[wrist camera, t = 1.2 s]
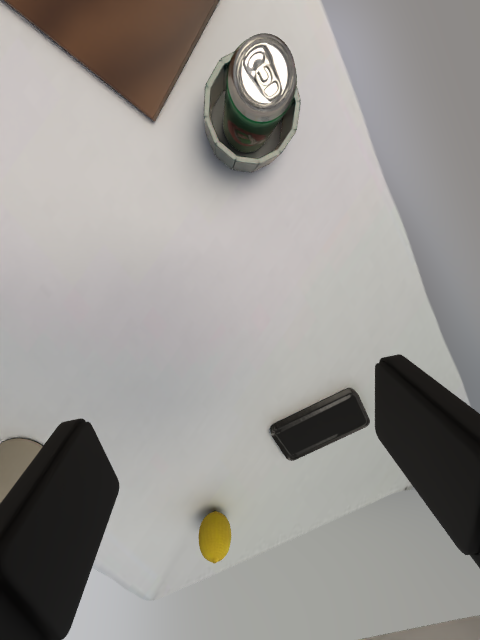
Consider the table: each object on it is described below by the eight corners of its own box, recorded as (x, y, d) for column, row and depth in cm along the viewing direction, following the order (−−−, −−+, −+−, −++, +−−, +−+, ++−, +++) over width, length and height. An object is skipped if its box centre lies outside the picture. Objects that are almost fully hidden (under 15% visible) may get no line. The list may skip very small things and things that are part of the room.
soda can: (252, 86, 29) (275, 4, 17) (278, 134, 30) (314, 87, 19) (213, 119, 29) (211, 60, 18) (240, 163, 31) (254, 135, 20)
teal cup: (190, 136, 30) (185, 120, 25) (237, 55, 28) (241, 19, 22) (254, 188, 32) (261, 183, 27) (301, 117, 30) (318, 97, 25)
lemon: (234, 514, 52) (237, 565, 44) (208, 525, 52) (207, 577, 45) (221, 497, 50) (222, 546, 42) (194, 508, 50) (190, 559, 43)
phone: (269, 431, 44) (356, 390, 42) (267, 426, 45) (352, 386, 43) (289, 463, 46) (372, 425, 45) (287, 457, 47) (368, 420, 46)
